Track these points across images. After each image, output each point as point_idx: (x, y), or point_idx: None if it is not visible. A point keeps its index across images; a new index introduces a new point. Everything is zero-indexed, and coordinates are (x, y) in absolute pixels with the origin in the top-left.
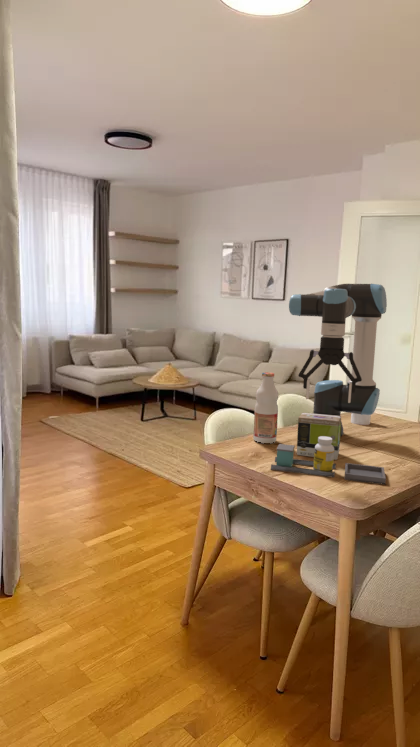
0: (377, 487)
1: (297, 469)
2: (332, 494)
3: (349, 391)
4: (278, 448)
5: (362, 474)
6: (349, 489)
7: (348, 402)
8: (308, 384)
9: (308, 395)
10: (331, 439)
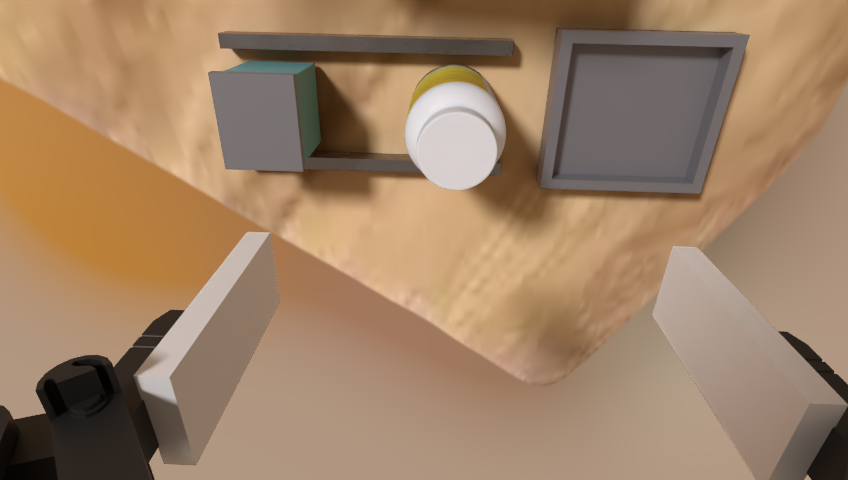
0: (648, 220)
1: (350, 168)
2: (484, 318)
3: (711, 397)
4: (232, 161)
5: (621, 117)
6: (542, 266)
7: (657, 317)
8: (214, 413)
9: (267, 312)
10: (492, 169)
